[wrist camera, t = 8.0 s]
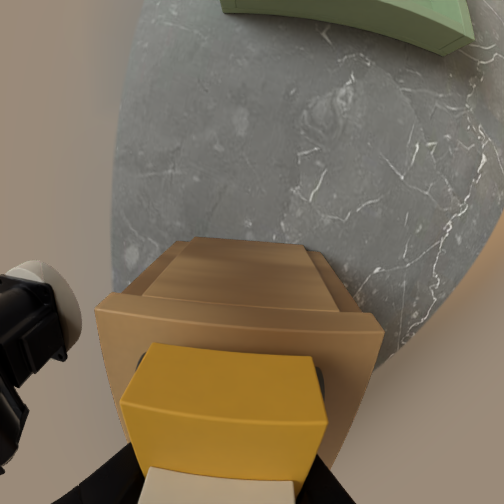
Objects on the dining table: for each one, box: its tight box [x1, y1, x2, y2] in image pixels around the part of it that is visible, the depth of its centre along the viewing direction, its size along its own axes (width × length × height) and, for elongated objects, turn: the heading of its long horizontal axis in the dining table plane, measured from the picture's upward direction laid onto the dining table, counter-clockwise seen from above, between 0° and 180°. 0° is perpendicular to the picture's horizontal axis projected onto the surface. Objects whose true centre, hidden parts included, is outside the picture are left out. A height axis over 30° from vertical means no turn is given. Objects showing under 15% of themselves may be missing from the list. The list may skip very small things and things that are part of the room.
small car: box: [120, 342, 329, 504], centre depth 6 cm, size 7×4×4 cm, turn 176°
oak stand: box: [94, 237, 385, 470], centre depth 12 cm, size 8×8×9 cm
